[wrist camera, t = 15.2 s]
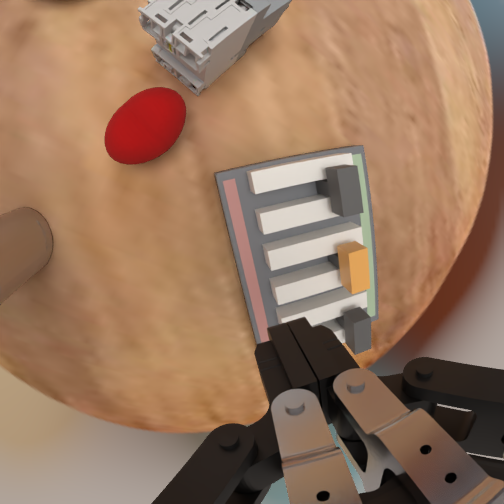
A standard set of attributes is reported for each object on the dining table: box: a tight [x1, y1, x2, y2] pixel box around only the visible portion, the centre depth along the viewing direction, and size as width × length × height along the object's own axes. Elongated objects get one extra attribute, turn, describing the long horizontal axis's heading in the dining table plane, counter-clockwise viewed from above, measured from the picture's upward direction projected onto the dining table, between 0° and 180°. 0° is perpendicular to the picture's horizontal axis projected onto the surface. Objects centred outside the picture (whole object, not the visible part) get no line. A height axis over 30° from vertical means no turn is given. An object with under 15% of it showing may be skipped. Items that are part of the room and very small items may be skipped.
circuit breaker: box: [138, 0, 292, 96], centre depth 25 cm, size 8×14×15 cm, turn 136°
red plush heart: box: [105, 87, 186, 164], centre depth 30 cm, size 9×7×10 cm
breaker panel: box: [214, 145, 378, 355], centre depth 38 cm, size 19×26×10 cm
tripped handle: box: [328, 241, 370, 294], centre depth 36 cm, size 2×5×7 cm, turn 12°
